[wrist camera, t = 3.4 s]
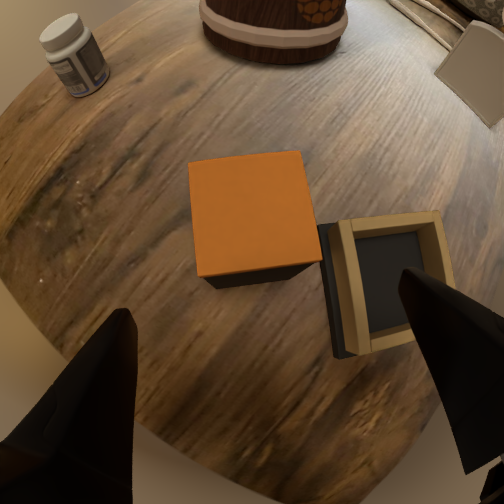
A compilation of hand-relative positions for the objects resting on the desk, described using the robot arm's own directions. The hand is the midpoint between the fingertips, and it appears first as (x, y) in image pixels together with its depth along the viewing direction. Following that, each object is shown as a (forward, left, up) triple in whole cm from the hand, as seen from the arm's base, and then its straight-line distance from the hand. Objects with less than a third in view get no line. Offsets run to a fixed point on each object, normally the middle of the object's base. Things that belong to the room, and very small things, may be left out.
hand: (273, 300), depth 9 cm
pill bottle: (+9, +25, -11) cm, 29 cm away
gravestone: (+33, -10, -11) cm, 36 cm away
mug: (+27, +12, -11) cm, 32 cm away
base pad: (+6, -7, -11) cm, 14 cm away
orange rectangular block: (+3, +2, -11) cm, 11 cm away
